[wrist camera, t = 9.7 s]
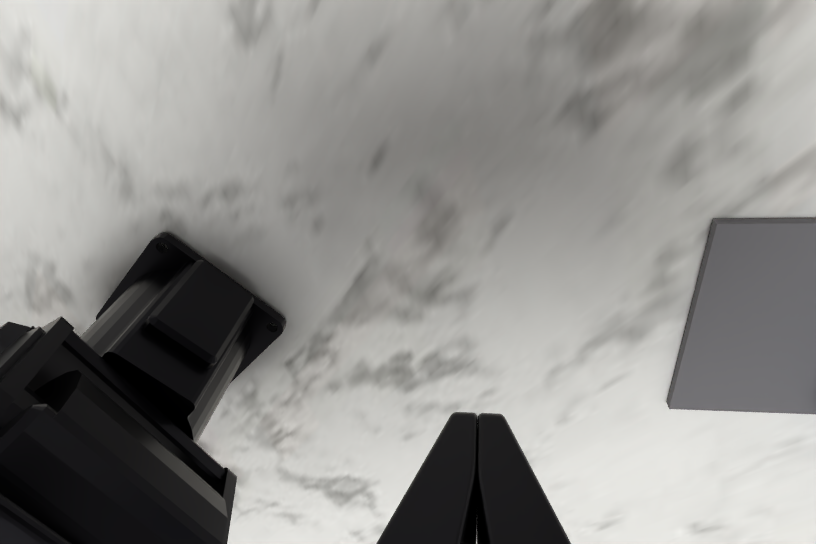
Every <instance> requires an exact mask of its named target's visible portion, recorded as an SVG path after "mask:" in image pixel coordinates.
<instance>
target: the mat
mask: <svg viewBox="0 0 816 544" xmlns="http://www.w3.org/2000/svg"><path fill="white" fill-rule="evenodd" d="M667 404H668V407H669V409H687V410H714V411H741V412H769V413H796V414H816V218H761V219H713V222H712V226H711V230H710V233H709V237H708V241H707V245H706V249H705V253H704V257H703V261H702V265H701V269H700V273H699V277H698V281H697V285H696V289H695V293H694V297H693V300H692V304H691V308H690V312H689V316H688V320H687V324H686V328H685V332H684V336H683V340H682V344H681V348H680V352H679V356H678V360H677V364H676V367H675V371H674V375H673V379H672V383H671V387H670V391H669V395H668V399H667Z"/></svg>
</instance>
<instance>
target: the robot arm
mask: <svg viewBox="0 0 816 544" xmlns="http://www.w3.org/2000/svg"><path fill="white" fill-rule="evenodd" d="M161 243H163V244H165V245H166V246H167V247H168V249H167V248H165V247H163V246H162V244H161ZM270 323H274V324H276V325H277V326H273V325H271V324H270ZM285 326H286V321H285V319H284V318H283V317H282V316H281V315H280V314H279V313H277V312H276V311H274V310H273V309H272V308H270V307H269V306H268V305H266V304H265V303H264V302H262V301H261V300H259V299H258V298H257V297H255V296H254V295H253V294H251V293H250V292H249V291H247V290H246V289H244V288H243V287H242V286H240V285H239V284H238V283H236V282H235V281H234V280H232V279H231V278H229V277H228V276H227V275H225V274H224V273H223V272H221V271H220V270H219V269H217V268H216V267H214V266H213V265H212V264H210V263H209V262H208V261H206V260H205V259H203V258H202V257H201V256H199V255H198V254H197V253H195V252H194V251H193V250H191V249H190V248H188V247H187V246H186V245H184V244H183V243H182V242H180V241H179V240H178V239H176V238H175V237H173V236H172V235H170V234H168V233H159V234H158V235H157V236H155V237H154V238H153V239H152V240H151V242H150V243H149V244H148V246H147V247H146V248H145V250H144V251H143V253H142V254H141V255H140V257H139V258H138V259H137V261H136V262H135V264H134V265H133V266H132V268H131V269H130V270H129V272H128V273H127V275H126V276H125V277H124V279H123V280H122V281H121V283H120V284H119V286H118V287H117V288H116V290H115V291H114V292H113V294H112V295H111V297H110V298H109V299H108V301H107V302H106V303H105V305H104V306H103V308H102V309H101V310H100V312H99V313H98V314H97V316H96V321H95V322H94V323H93V324H92V325H91V326H90V328H89V329H88V330H87V331H86V332H85V333H84V334H83V335H82V336H81V337H79V336H78V335H77V334H76V333H75V332H73V331H72V330H73V329H74V327H73V326H71V325H70V324H69V323H68V322H67V321H66V320H65V319H64V318H63V317H62V316H61V317H59V318H58V319H56V320H54V321H53V322H51V323H49V324H48V325H46V326H44V327H43V328H41V327H37V328H35V327H34V326H32V327H27V326H23V325H20V324H16V323H12V322H7V323H6V324H4V325H3V326H1V327H0V544H227V540H228V534H229V527H230V520H231V514H232V507H233V500H234V494H235V487H236V480H237V476H236V475H234V474H233V473H232V472H231V471H230V470H229V469H228V468H223V467H222V466H221V465H220V464H218V463H217V462H216V461H215V460H214V459H213V458H212V457H211V456H210V455H209V454H207V453H206V452H205V451H204V450H203V449H202V448H201V447H200V446H199V445H198V444H196V443H197V441H198V439H199V438H200V436H201V434H202V432H203V431H204V429H205V427H206V425H207V423H208V422H209V420H210V418H211V416H212V414H213V413H214V411H215V409H216V407H217V405H218V404H219V402H220V400H221V398H222V396H223V395H224V393H225V391H226V389H227V388H228V386H229V384H230V383H231V382H232V381H233V380H234V379H235V378H236V377H237V376H238V375H239V374H240V373H241V372H242V371H243V370H244V369H245V368H246V367H247V366H248V365H249V364H250V363H251V362H253V361H254V360H255V359H256V358H257V357H258V356H259V355H260V354H261V353H262V352H263V351H264V350H265V349H266V348H267V347H268V346H269V345H270V344H271V343H272V342H273V341H274V340H276V339H277V338H278V337H279V336H280V335H281V334H282V332H283V330H284V328H285ZM476 539H477V544H571V543H570V541H569V539H568V537H567V535H566V533H565V531H564V529H563V527H562V525H561V524H560V522H559V520H558V518H557V516H556V514H555V512H554V510H553V508H552V506H551V505H550V503H549V501H548V499H547V497H546V495H545V493H544V491H543V489H542V487H541V485H540V484H539V482H538V480H537V478H536V476H535V474H534V472H533V470H532V468H531V466H530V465H529V463H528V461H527V459H526V457H525V455H524V453H523V451H522V449H521V447H520V445H519V444H518V442H517V440H516V438H515V436H514V434H513V432H512V430H511V428H510V426H509V425H508V423H507V421H506V419H505V417H504V416H503V415H501V414H492V413H481V414H479V416H478V417H477V415H476V414H475V413H467V412H454V413H453V414H452V415H451V416H450V418H449V419H448V421H447V423H446V425H445V426H444V428H443V430H442V432H441V433H440V435H439V437H438V438H437V440H436V442H435V444H434V445H433V447H432V449H431V450H430V452H429V454H428V456H427V457H426V459H425V461H424V463H423V464H422V466H421V468H420V469H419V471H418V473H417V475H416V476H415V478H414V480H413V482H412V483H411V485H410V487H409V488H408V490H407V492H406V494H405V495H404V497H403V499H402V500H401V502H400V504H399V506H398V507H397V509H396V511H395V513H394V514H393V516H392V518H391V519H390V521H389V523H388V525H387V526H386V528H385V530H384V531H383V533H382V535H381V537H380V538H379V540H378V542H377V544H476Z"/></svg>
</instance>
